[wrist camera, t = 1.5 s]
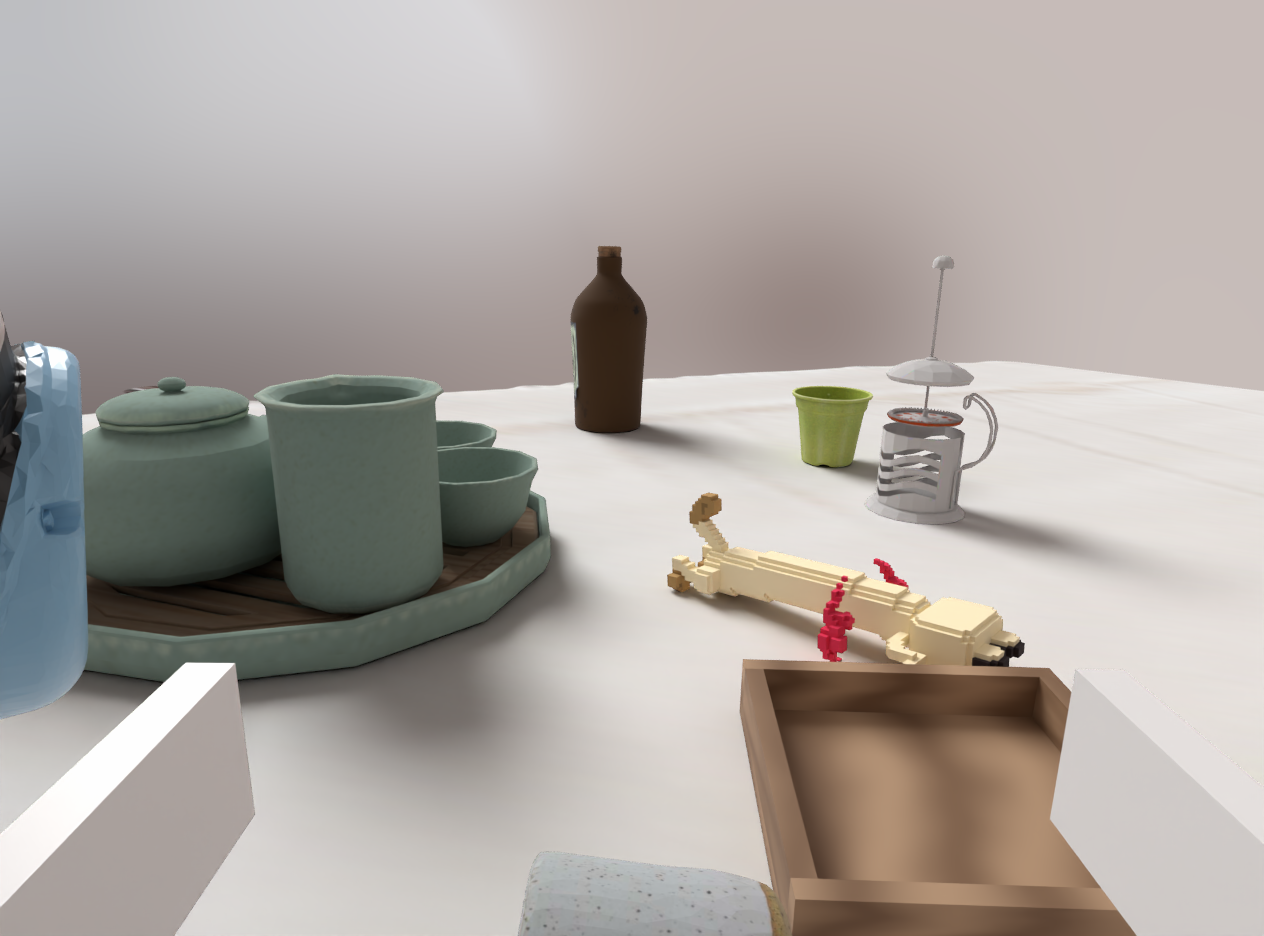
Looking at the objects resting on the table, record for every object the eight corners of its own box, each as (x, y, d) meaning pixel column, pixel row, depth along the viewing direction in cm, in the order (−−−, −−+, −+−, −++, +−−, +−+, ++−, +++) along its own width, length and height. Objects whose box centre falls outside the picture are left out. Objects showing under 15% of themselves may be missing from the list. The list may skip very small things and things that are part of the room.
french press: (885, 487, 89) (910, 254, 82) (995, 510, 82) (1033, 257, 75) (848, 509, 81) (873, 254, 74) (966, 536, 74) (1006, 257, 67)
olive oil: (649, 420, 120) (653, 247, 113) (638, 436, 110) (641, 247, 103) (580, 416, 121) (580, 245, 115) (562, 431, 111) (561, 245, 105)
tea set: (617, 518, 78) (619, 348, 73) (347, 755, 42) (318, 448, 37) (288, 474, 91) (273, 326, 86) (-139, 627, 54) (-205, 385, 50)
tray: (788, 972, 29) (795, 899, 28) (739, 711, 46) (742, 659, 45) (1257, 989, 29) (1279, 916, 28) (1039, 719, 45) (1049, 668, 45)
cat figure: (649, 616, 60) (988, 734, 43) (645, 504, 58) (998, 580, 41) (730, 580, 67) (1050, 668, 50) (729, 478, 65) (1061, 534, 48)
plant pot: (822, 475, 93) (828, 402, 90) (772, 456, 101) (777, 388, 98) (882, 466, 97) (889, 396, 95) (829, 449, 105) (835, 383, 103)
